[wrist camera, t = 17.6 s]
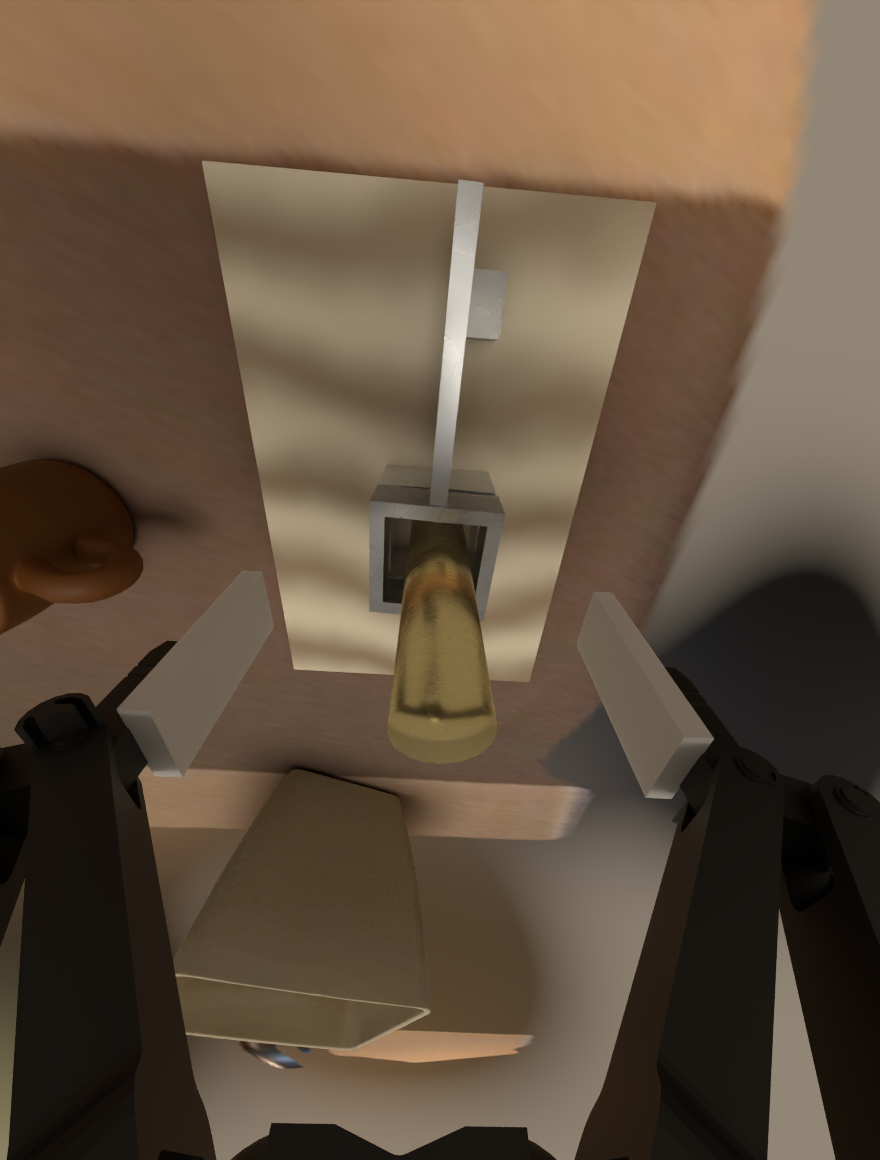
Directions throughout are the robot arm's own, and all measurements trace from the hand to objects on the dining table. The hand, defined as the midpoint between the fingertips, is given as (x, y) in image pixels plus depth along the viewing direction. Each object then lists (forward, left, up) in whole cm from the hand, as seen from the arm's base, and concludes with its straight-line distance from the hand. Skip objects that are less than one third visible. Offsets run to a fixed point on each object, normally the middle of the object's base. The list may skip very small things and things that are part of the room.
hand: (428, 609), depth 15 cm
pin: (0, 0, -11) cm, 11 cm away
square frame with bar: (-5, 0, -10) cm, 12 cm away
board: (0, -1, -12) cm, 12 cm away
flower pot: (+38, -10, -12) cm, 41 cm away
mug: (+2, -22, -12) cm, 25 cm away
